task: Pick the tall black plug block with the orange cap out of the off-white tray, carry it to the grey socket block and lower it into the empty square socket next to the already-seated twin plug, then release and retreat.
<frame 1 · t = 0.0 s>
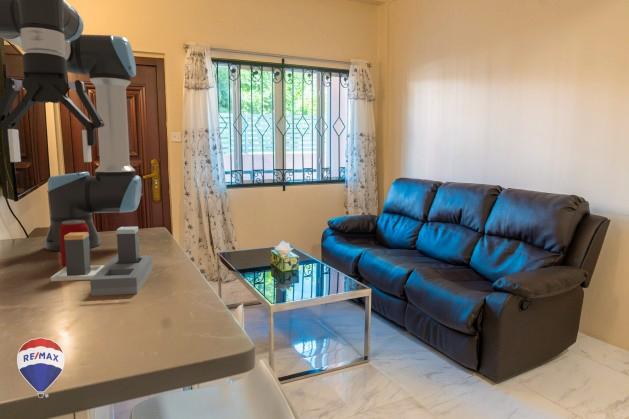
hand: (52, 162, 91), 28 cm above the counter, fingers open, 13 cm apart
plug: (79, 274, 106), point 1 cm above the counter, touching tray
twin plug: (130, 276, 107), resting on grey socket block
beverage can: (76, 266, 116), on the counter
tray: (79, 277, 106), on the counter
grey socket block: (125, 282, 102), on the counter
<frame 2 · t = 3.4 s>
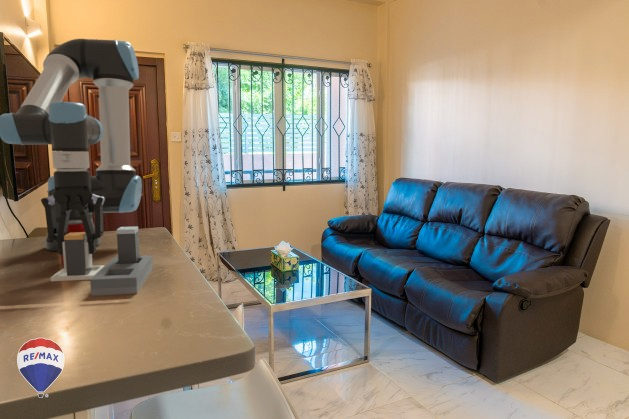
hand: (78, 267, 106), 2 cm above the counter, fingers closed on plug, 4 cm apart
plug: (79, 274, 106), point 1 cm above the counter, touching gripper, tray
everything else where it was.
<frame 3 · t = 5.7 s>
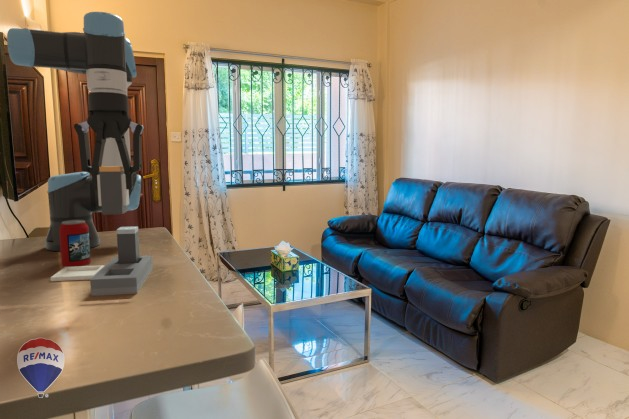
hand: (114, 204, 94), 19 cm above the counter, fingers closed on plug, 4 cm apart
plug: (114, 213, 94), point 17 cm above the counter, touching gripper
everything else where it was.
when the fingers open (5 cm above the counter, at t = 8.0 s): plug stays where it is, resting on grey socket block.
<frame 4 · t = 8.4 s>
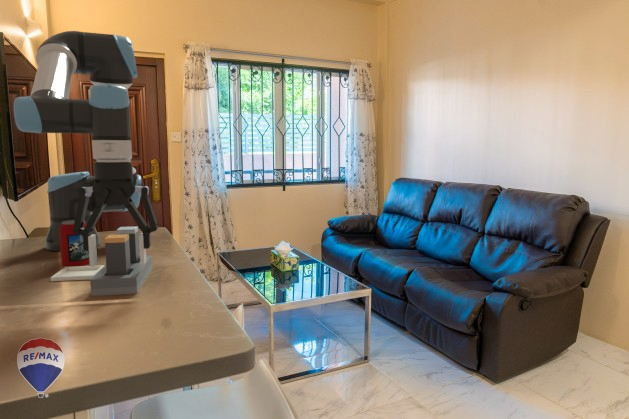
hand: (118, 264, 96), 6 cm above the counter, fingers open, 9 cm apart
plug: (119, 280, 96), point 2 cm above the counter, touching grey socket block
everything else where it was.
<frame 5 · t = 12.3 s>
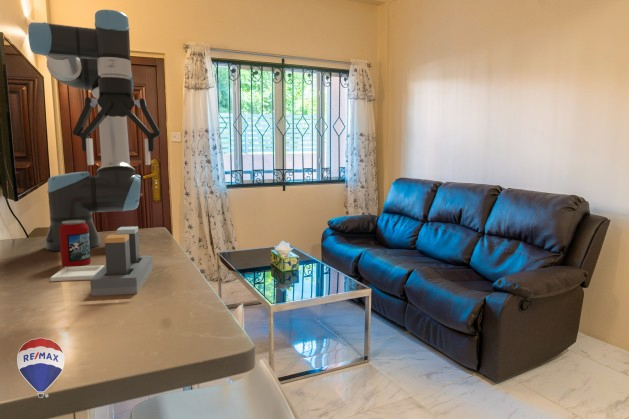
hand: (119, 165, 111), 27 cm above the counter, fingers open, 13 cm apart
nothing on the counter moved.
at the end: plug 0.0 cm from the target spot on the grey socket block, point 2.0 cm above the grey socket block's base; plug tilted 0°; the gripper is holding nothing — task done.
